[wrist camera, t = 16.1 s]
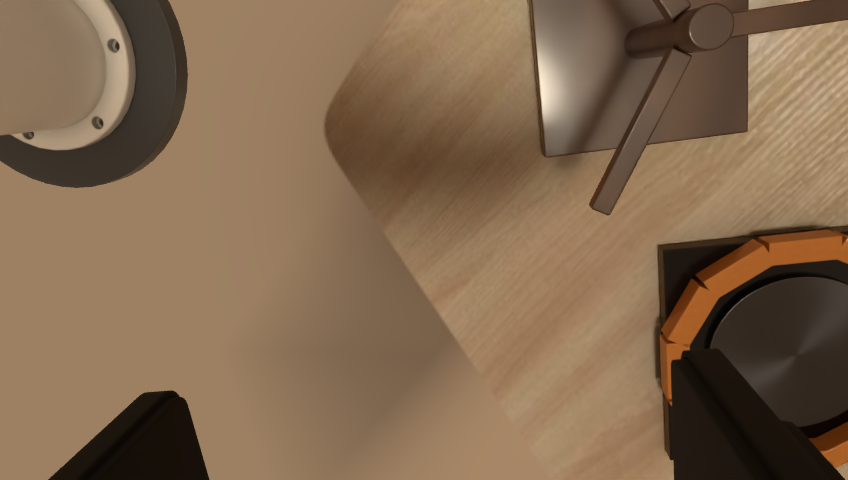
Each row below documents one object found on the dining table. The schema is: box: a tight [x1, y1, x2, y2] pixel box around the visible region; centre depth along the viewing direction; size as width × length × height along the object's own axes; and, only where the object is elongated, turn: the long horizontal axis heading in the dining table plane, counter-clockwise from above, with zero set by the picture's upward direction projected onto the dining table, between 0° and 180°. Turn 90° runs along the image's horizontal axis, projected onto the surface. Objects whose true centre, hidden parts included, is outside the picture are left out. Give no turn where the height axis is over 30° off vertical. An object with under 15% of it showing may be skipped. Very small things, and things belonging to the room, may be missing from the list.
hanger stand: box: [529, 0, 848, 215], centre depth 28 cm, size 15×16×12 cm
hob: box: [658, 226, 848, 460], centre depth 38 cm, size 16×16×2 cm
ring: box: [660, 230, 848, 467], centre depth 37 cm, size 16×16×2 cm
